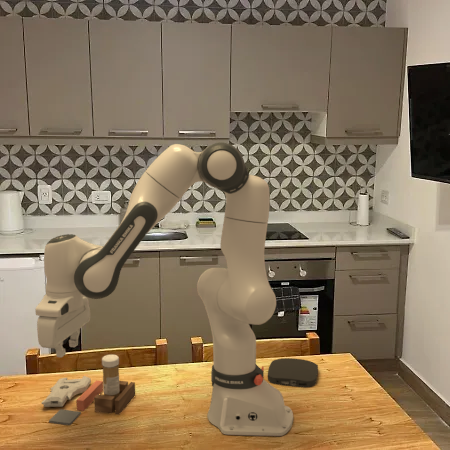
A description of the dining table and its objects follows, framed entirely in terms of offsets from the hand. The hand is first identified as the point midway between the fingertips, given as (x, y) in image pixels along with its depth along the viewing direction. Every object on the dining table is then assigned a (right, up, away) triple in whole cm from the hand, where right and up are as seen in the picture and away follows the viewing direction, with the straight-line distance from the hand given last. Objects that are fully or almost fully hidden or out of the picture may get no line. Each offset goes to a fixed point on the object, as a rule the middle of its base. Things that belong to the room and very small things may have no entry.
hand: (67, 351), depth 148 cm
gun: (-5, -16, +17) cm, 24 cm away
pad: (-2, -19, +5) cm, 19 cm away
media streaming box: (+61, -14, +30) cm, 69 cm away
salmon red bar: (+3, -17, +14) cm, 22 cm away
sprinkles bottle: (+9, -17, +13) cm, 23 cm away
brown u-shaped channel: (+10, -17, +12) cm, 23 cm away
